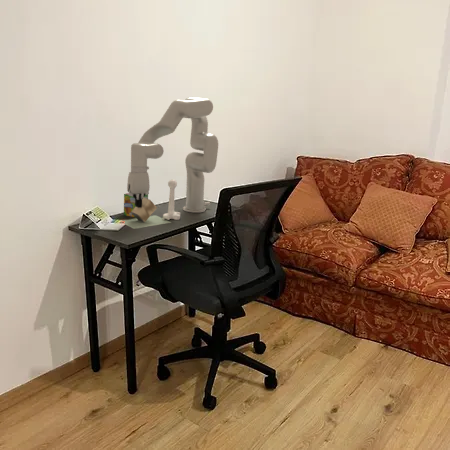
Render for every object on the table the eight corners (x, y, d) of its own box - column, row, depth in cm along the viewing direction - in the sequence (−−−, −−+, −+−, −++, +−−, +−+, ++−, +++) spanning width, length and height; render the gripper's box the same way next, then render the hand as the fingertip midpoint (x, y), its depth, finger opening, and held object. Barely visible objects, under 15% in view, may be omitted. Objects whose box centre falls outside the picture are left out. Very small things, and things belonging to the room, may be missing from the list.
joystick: (173, 215, 249) (175, 177, 244) (185, 218, 246) (187, 179, 240) (160, 219, 239) (162, 180, 234) (173, 222, 236) (175, 182, 231)
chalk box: (123, 215, 243) (123, 187, 239) (133, 212, 251) (133, 184, 247) (138, 218, 240) (138, 190, 235) (148, 214, 248) (148, 187, 243)
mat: (155, 216, 246) (155, 215, 246) (171, 223, 235) (171, 222, 235) (118, 221, 233) (118, 220, 233) (133, 229, 222) (133, 228, 222)
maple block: (137, 219, 236) (150, 205, 239) (144, 222, 232) (157, 207, 235) (130, 212, 232) (143, 197, 235) (136, 215, 228) (150, 199, 231)
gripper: (148, 167, 233) (147, 203, 238) (120, 169, 224) (121, 206, 229) (156, 170, 228) (155, 207, 233) (128, 172, 219) (128, 210, 224)
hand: (138, 206), depth 231 cm, fingers closed
